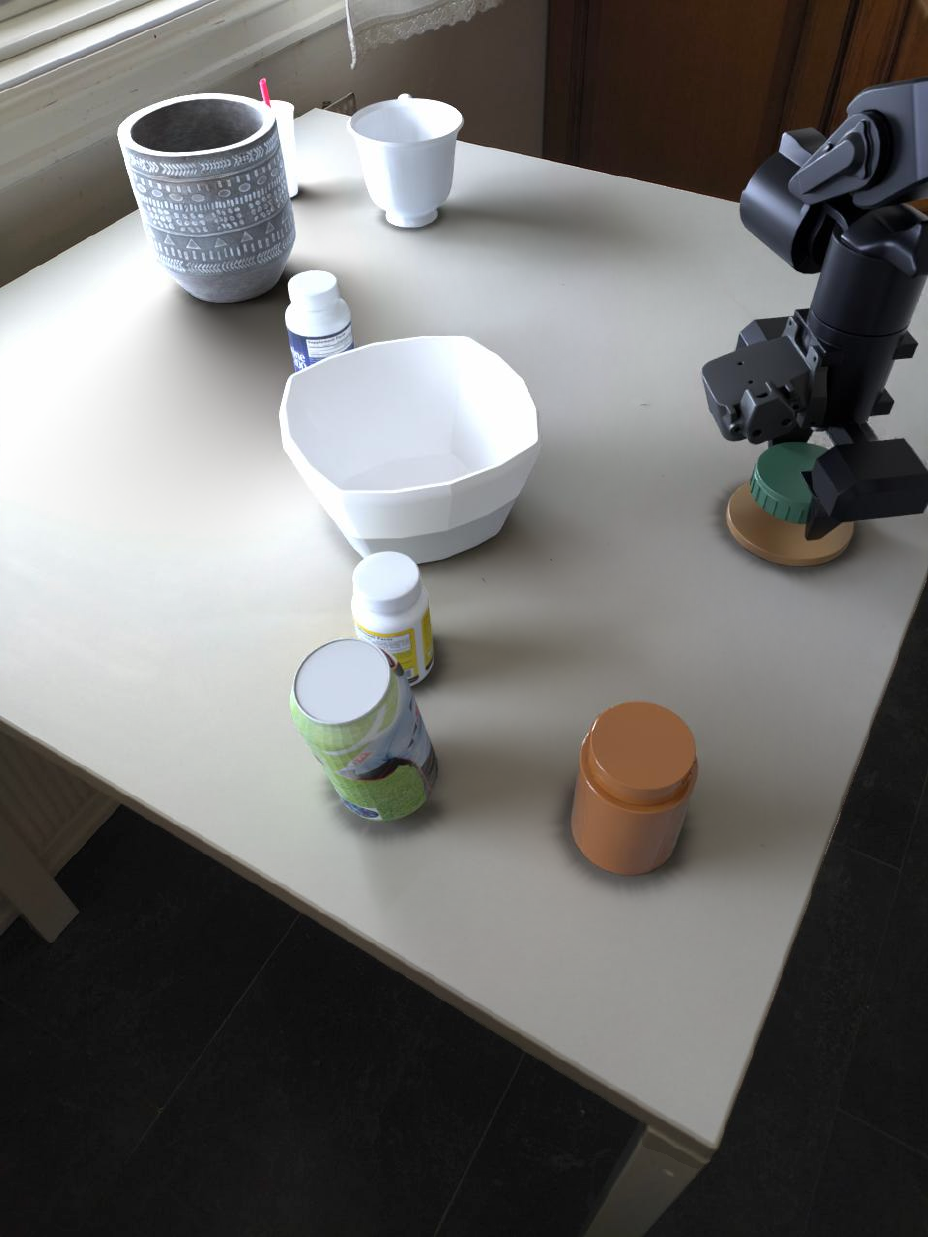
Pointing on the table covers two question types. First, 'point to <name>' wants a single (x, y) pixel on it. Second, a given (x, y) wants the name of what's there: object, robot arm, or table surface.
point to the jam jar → (633, 787)
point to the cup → (285, 136)
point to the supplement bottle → (394, 611)
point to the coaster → (780, 534)
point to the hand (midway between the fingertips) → (793, 505)
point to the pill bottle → (317, 319)
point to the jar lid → (785, 480)
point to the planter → (212, 193)
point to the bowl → (413, 443)
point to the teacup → (407, 156)
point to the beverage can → (364, 728)
